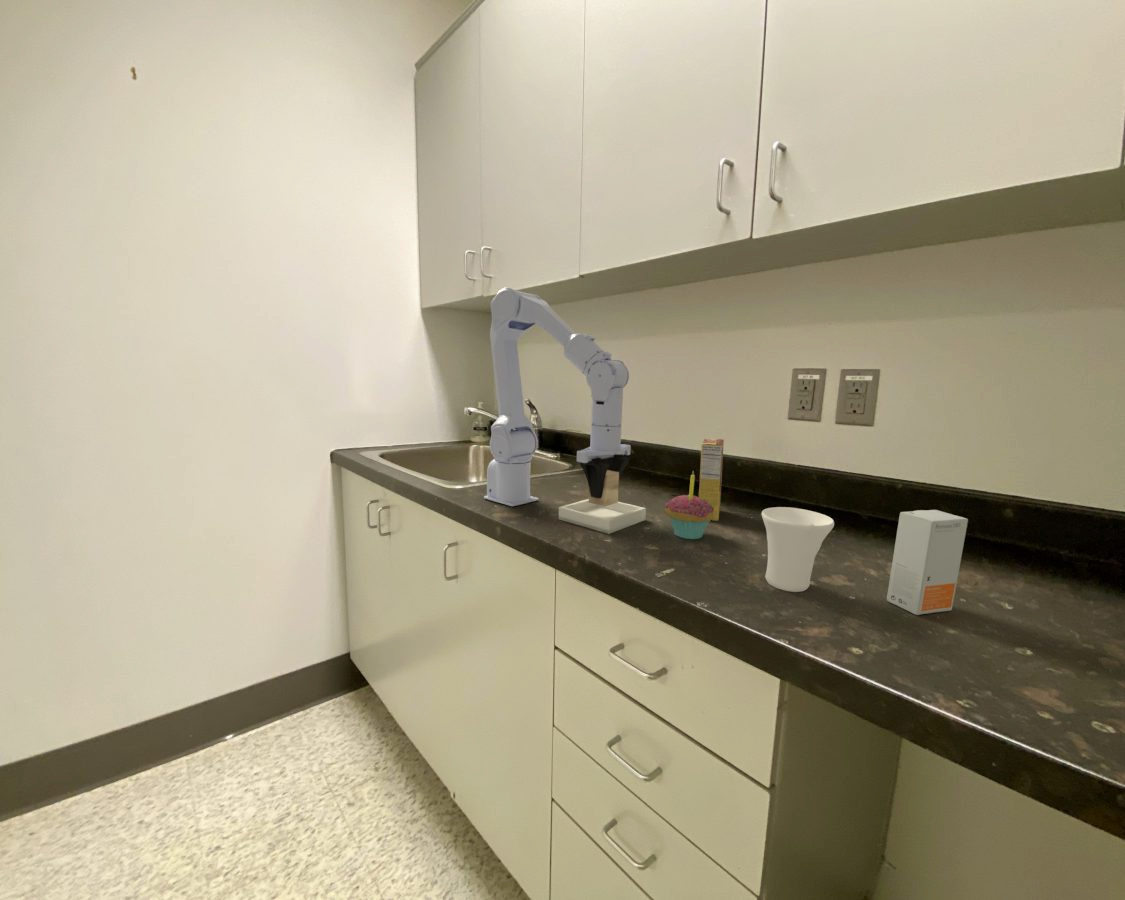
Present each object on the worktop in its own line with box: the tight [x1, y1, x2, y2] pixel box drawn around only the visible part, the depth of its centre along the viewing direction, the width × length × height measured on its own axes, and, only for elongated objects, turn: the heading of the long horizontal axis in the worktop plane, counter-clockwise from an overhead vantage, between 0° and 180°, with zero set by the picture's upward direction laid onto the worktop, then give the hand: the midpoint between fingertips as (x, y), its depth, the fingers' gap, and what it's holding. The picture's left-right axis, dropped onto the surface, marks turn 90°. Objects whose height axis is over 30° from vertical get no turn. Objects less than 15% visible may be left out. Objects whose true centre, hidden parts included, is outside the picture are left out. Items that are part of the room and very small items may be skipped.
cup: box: [761, 506, 835, 593], centre depth 66 cm, size 9×9×10 cm
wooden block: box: [588, 470, 620, 506], centre depth 92 cm, size 4×4×6 cm
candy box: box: [698, 438, 725, 522], centre depth 98 cm, size 9×4×15 cm, turn 160°
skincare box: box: [886, 509, 969, 616], centre depth 60 cm, size 6×4×12 cm
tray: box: [557, 498, 647, 535], centre depth 93 cm, size 12×12×2 cm
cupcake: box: [664, 470, 714, 540], centre depth 85 cm, size 9×8×12 cm
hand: (603, 495), depth 93 cm, fingers closed on wooden block, 4 cm apart
